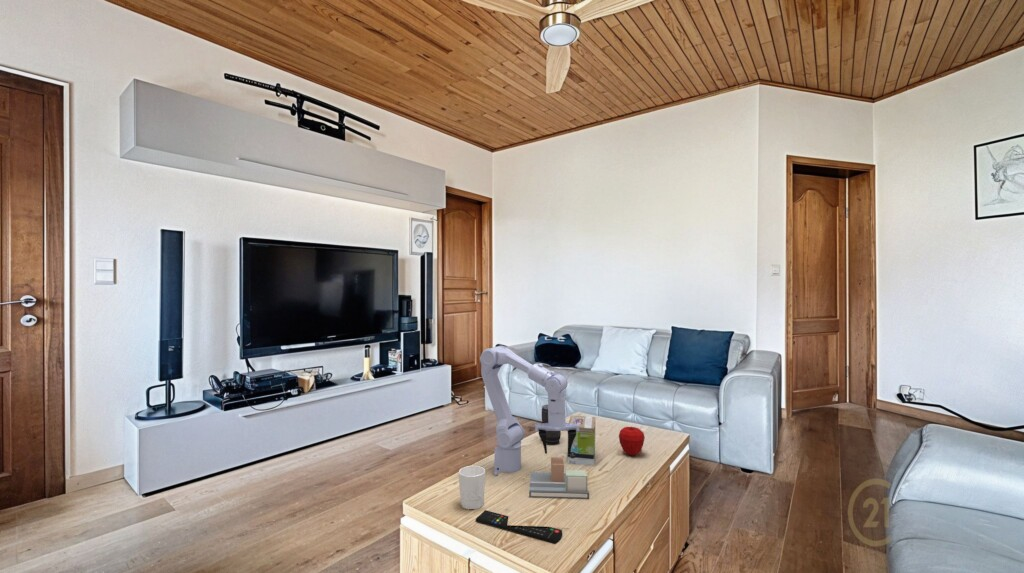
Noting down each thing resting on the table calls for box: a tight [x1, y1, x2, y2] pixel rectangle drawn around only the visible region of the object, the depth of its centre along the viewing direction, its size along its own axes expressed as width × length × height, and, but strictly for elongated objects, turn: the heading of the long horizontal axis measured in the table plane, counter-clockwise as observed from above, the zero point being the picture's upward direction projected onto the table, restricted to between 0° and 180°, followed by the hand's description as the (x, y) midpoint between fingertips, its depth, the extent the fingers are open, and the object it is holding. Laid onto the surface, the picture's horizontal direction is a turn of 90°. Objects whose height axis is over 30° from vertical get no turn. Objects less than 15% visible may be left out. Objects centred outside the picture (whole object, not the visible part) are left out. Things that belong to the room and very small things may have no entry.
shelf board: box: [528, 471, 590, 500], centre depth 140 cm, size 18×18×3 cm
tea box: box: [566, 415, 596, 466], centre depth 164 cm, size 15×10×15 cm, turn 168°
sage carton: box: [564, 469, 588, 492], centre depth 135 cm, size 6×4×6 cm, turn 86°
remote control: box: [475, 509, 563, 544], centre depth 117 cm, size 5×24×1 cm, turn 63°
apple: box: [618, 426, 646, 457], centre depth 169 cm, size 10×10×11 cm
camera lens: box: [541, 404, 562, 446], centre depth 182 cm, size 8×8×15 cm
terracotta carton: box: [550, 456, 565, 482], centre depth 144 cm, size 6×4×6 cm, turn 176°
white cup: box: [458, 465, 486, 510], centre depth 130 cm, size 8×8×10 cm
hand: (557, 452), depth 144 cm, fingers open, 7 cm apart
